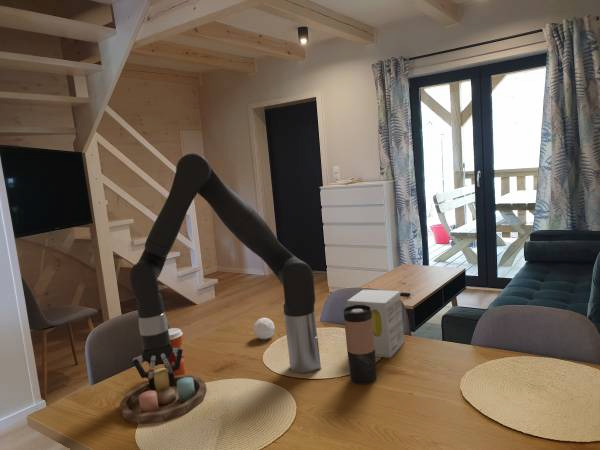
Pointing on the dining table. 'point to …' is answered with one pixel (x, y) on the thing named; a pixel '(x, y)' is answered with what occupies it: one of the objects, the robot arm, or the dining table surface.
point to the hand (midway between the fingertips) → (162, 386)
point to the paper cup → (176, 342)
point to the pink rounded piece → (148, 402)
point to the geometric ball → (264, 328)
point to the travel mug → (360, 344)
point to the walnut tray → (164, 410)
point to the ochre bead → (161, 379)
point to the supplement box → (383, 319)
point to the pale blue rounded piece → (185, 389)
